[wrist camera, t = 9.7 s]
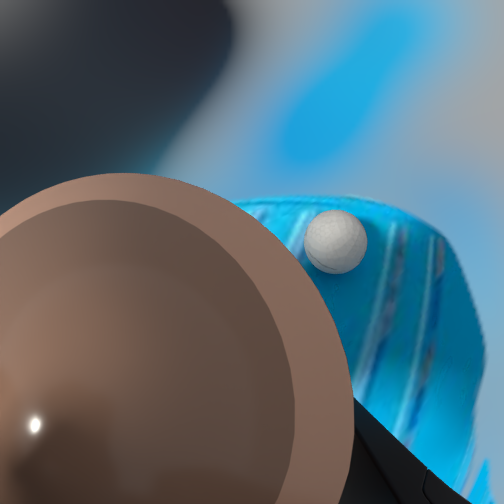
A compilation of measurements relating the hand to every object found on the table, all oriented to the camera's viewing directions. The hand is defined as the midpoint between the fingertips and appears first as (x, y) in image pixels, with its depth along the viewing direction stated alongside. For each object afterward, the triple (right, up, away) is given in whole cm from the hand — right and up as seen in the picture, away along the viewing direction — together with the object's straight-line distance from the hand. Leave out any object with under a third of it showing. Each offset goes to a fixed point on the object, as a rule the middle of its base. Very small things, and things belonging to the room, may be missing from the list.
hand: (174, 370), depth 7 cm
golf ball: (+7, +3, +12) cm, 15 cm away
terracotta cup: (-1, -5, +6) cm, 8 cm away
